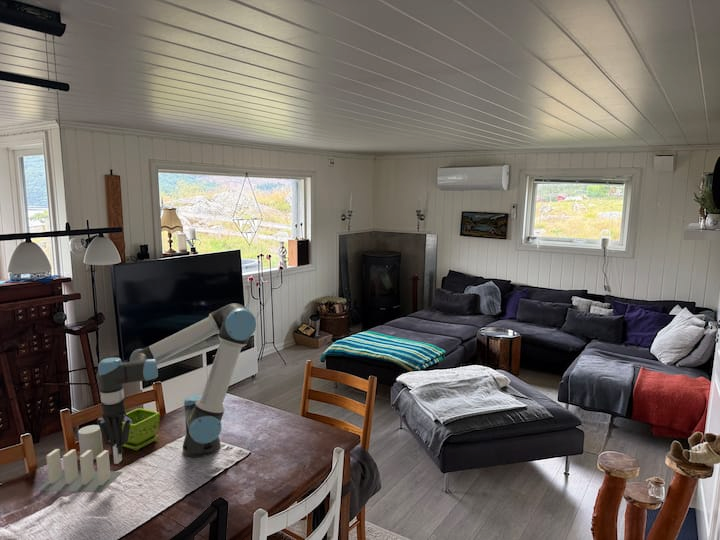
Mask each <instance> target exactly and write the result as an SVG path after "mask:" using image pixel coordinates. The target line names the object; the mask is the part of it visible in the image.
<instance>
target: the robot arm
mask: <svg viewBox="0 0 720 540" xmlns="http://www.w3.org/2000/svg"><path fill="white" fill-rule="evenodd" d="M256 328H257V321H256V318H255V316H254V314H253V313H252V311H250V310H249V309H248V308H246V306H244V305H243V304H240V303H236V302H235V303H234V302H233V303H229V304H227V305H225V306H222V307H220V308H219V309H217V310H214V311H212V312H210V313H209V314H208V317H205V318H203V319H202V320H200V321H198V322H195V323H194V324H191V325H190V326H188V327H185V328H183V329H181V330H179V331H178V332H176V333H173V334H172V335H169V336H167V337H164V339H161V340H159V341H157V342H155V343H153V344H151V345H149V346H146V347H144V348H138V349H135V350H133V352H132V353H131V354H130V357H129V361H128V362H123V361H122V359H121V358H120V357H107V358H104V359H101V360H100V361H99V363H98V364H97V366H98V383H99V394H100V402H101V405H100V406H101V412H102V415H101V417H99V418H98V419H97V420H96V421H95V422H96V425H99V427H100V430H101V434H102V440H103V442H104V444H105V445H106V446H107V445H108V446H110V452H111V454H112V455H113V464H117V465H118V464H119V463H120V462H121V461H122V460H123V455H122V454H123V453H124V446H123V445H124V444H125V443H126V442H127V441H128V437H129V430H130V424H131V422H132V421H133V418H128V417H127V416H126V413H127V412H125V410H126V401H125V399H124V398H125V392H124V391H125V390H124V385H125V384H129V383H137V382H143V381H148V382H149V381H150V380H155V379H157V378H158V376H159V373H158V364H159V363H160V362H162V361H164V360H166V359H168V358H170V357H172V356H175V355H177V354H178V353H180V352H182V351H184V350H186V349H188V348H190V347H192V346H195V345H197V344H198V343H201V342H202V341H205V340H206V339H208V338H210V337H212V336H214V335H216V334H217V335H218V336H217V338H218V339H219V341H220V342H219V344H218V348H217V351H216V353H215V357H214V359H213V362H212V365H211V368H210V372H209V374H208V376H207V377H208V378H207V380H206V383H205V386H204V388H203V391H202V393H200V394H195V395H190V396H189V397H187V398H185V399H184V400H183V401H184V402H183V408H184V419H185V420H184V421H185V437H184V440H183V444H182V453H183V455H184V456H186V457H189V458H203V457H206V456H210V455H213V454H214V453H216V452H218V451H219V450H220V448H221V439H220V437H219V436H220V434H221V432H222V426H223V425H222V423H221V422H222V419H223V416H224V413H225V407H224V405H223V403H224V400H225V398H226V395H227V392H228V389H229V386H230V384H231V381H232V377H233V375H234V372H235V368H236V365H237V362H238V361H239V356H240V353H241V350H242V348H243V347H245V346H247V345H248V342H249V339H250V338H251V337H252V336H253V334H255V331H256ZM123 421H124V428H123V432H122V425H123V423H122V422H123Z"/></svg>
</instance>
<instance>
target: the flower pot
mask: <svg viewBox="0 0 720 540" xmlns="http://www.w3.org/2000/svg"><path fill="white" fill-rule="evenodd" d="M125 413H126V416H127V417H128V418H133V421H132V422H131V424H130V430H129V437H128V441H127V442H126V443H125V444H124V445H123V448H127V449H131V450H134V451H139V450H140V449H141V448H144V447H146V446H147V445H149V444H151V443H153V442H154V441H156V440H157V439H158V438H159V435H158V434H157V432H158V429H159V427H160V421H161V420H160V419H161V414H160V412H158V411H156V410H155V411H154V410H151V409H146V408H141V407H140V408H139V407H138V408H135V409H133V410H131V411H129V412H125ZM122 423H123V425H122V432H123V428H124V421H123V422H122Z"/></svg>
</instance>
